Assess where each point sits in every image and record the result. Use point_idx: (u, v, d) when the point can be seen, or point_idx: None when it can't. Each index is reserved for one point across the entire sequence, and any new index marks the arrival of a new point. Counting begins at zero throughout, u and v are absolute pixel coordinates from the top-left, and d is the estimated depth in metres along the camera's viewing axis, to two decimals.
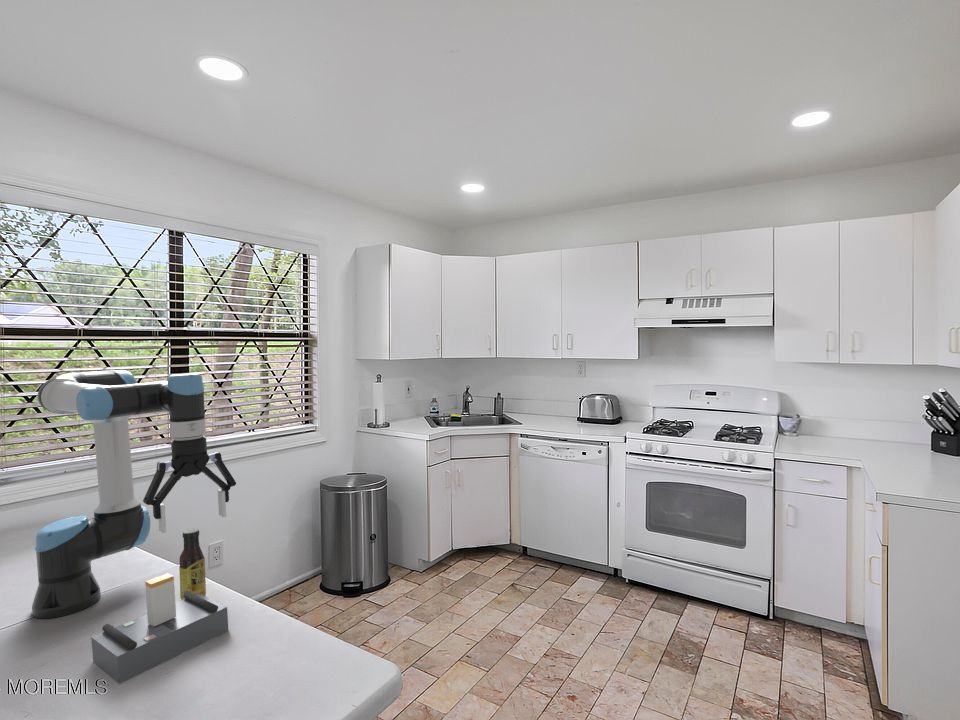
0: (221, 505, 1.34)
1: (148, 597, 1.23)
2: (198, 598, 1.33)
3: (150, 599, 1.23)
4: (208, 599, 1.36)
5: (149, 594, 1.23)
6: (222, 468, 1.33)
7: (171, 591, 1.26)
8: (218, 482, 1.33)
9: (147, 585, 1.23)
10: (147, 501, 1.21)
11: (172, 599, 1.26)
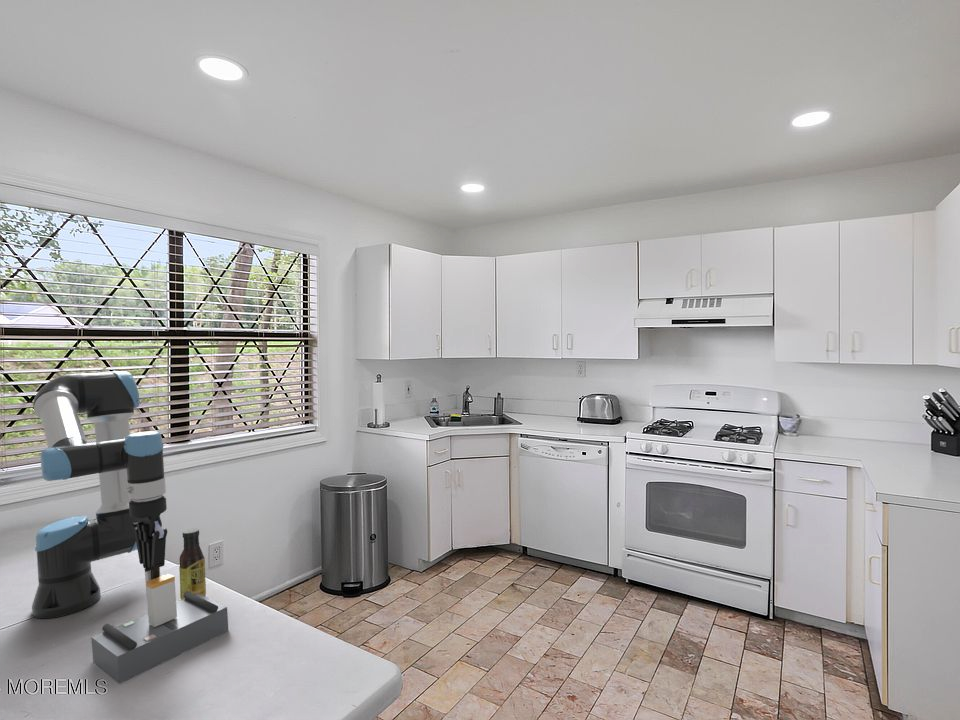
0: None
1: (149, 597, 1.23)
2: (198, 598, 1.33)
3: (150, 599, 1.23)
4: (208, 599, 1.36)
5: (150, 595, 1.23)
6: (152, 546, 1.23)
7: (172, 592, 1.26)
8: (147, 556, 1.25)
9: (148, 585, 1.23)
10: (139, 561, 1.28)
11: (173, 599, 1.26)
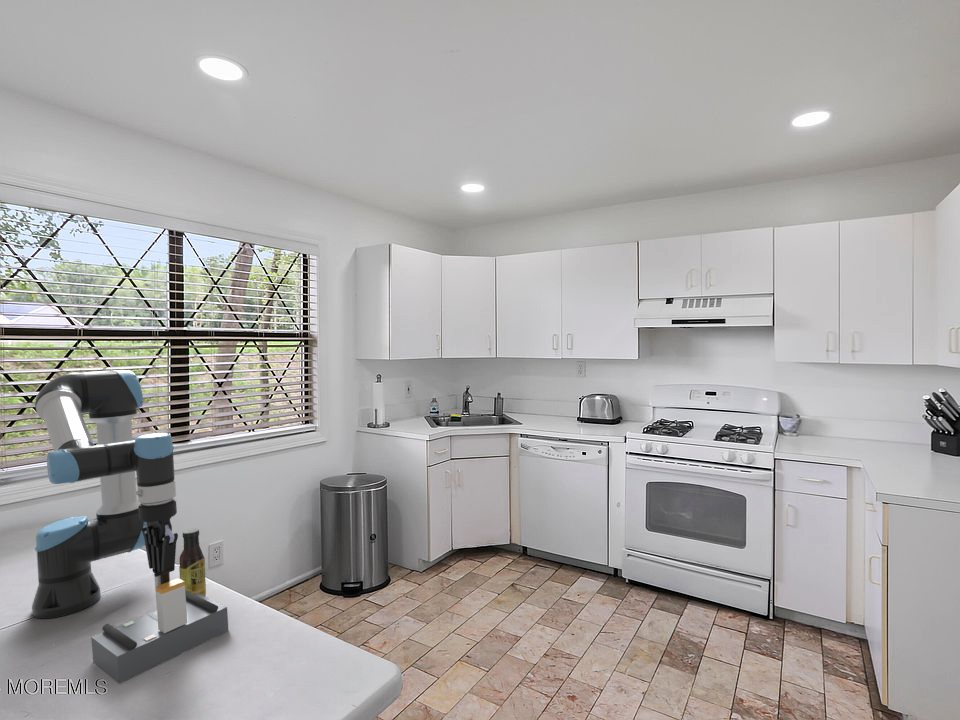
0: None
1: (159, 603, 1.20)
2: (198, 598, 1.33)
3: (160, 605, 1.20)
4: (208, 599, 1.36)
5: (159, 600, 1.20)
6: (162, 551, 1.21)
7: (182, 597, 1.23)
8: (157, 561, 1.22)
9: (158, 591, 1.20)
10: (149, 565, 1.25)
11: (183, 605, 1.23)
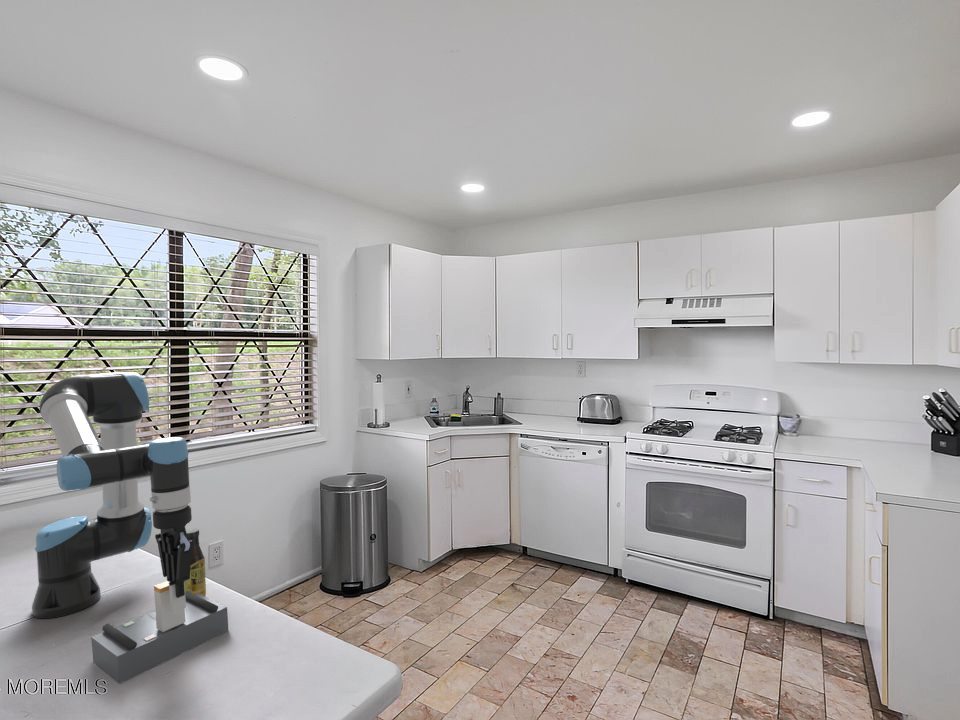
0: None
1: (157, 602, 1.21)
2: (198, 598, 1.33)
3: (158, 604, 1.20)
4: (208, 599, 1.36)
5: (158, 599, 1.21)
6: (178, 559, 1.17)
7: None
8: (172, 569, 1.19)
9: (156, 590, 1.21)
10: (163, 574, 1.21)
11: None
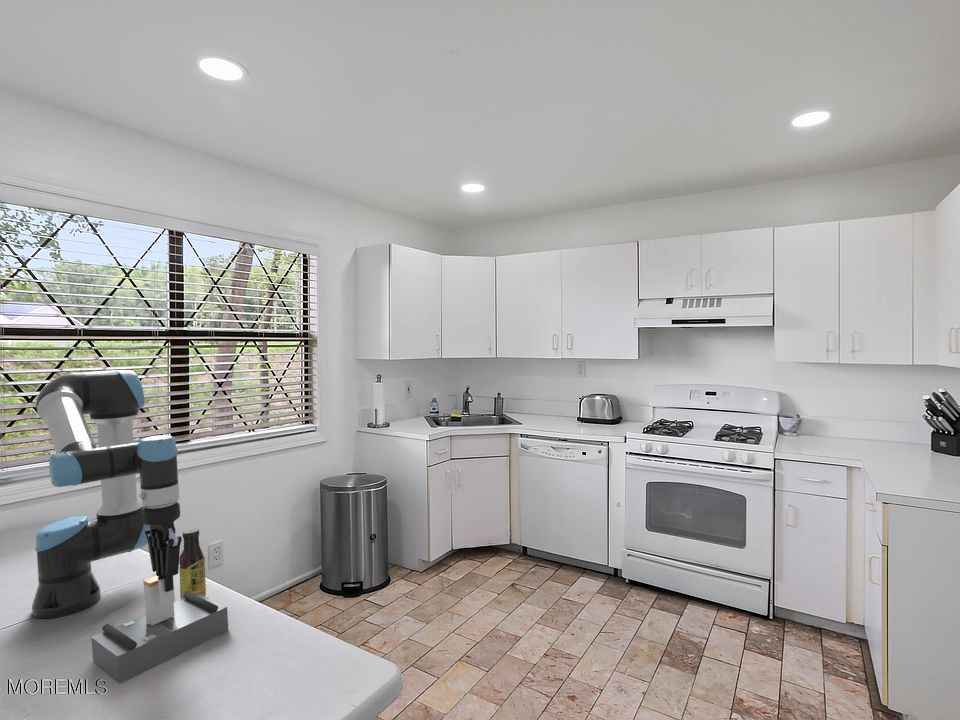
0: None
1: (146, 596, 1.24)
2: (198, 598, 1.33)
3: (148, 598, 1.24)
4: (208, 599, 1.36)
5: (147, 593, 1.24)
6: (166, 554, 1.20)
7: None
8: (161, 564, 1.22)
9: (145, 584, 1.24)
10: (152, 568, 1.24)
11: None
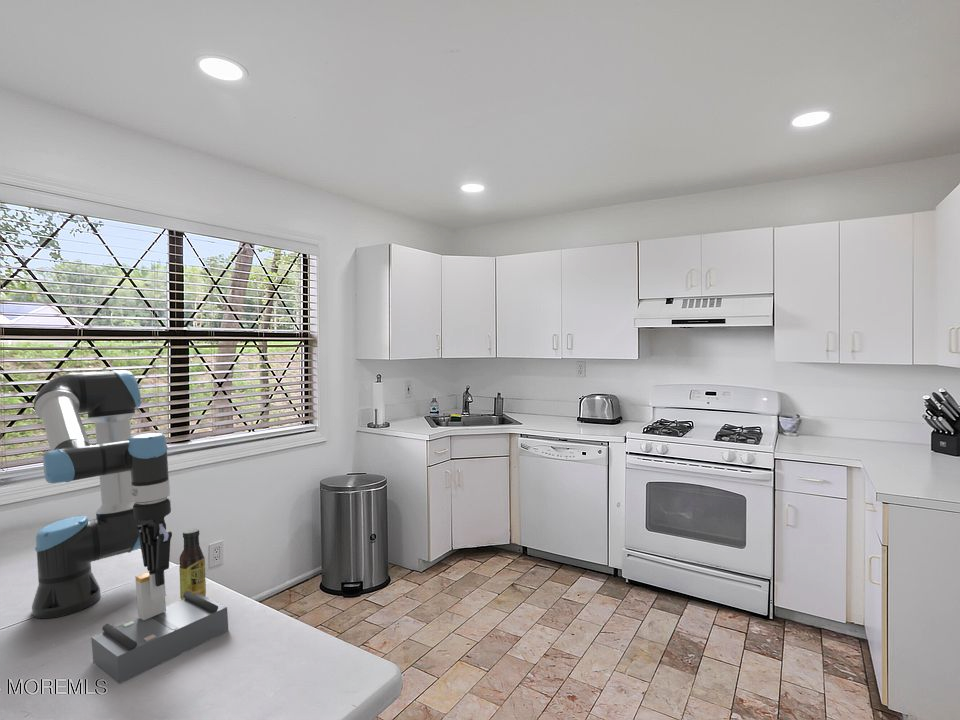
0: None
1: (138, 592, 1.26)
2: (198, 598, 1.33)
3: (140, 593, 1.26)
4: (208, 599, 1.36)
5: (139, 589, 1.26)
6: (157, 549, 1.22)
7: None
8: (152, 559, 1.24)
9: (137, 580, 1.26)
10: None
11: None
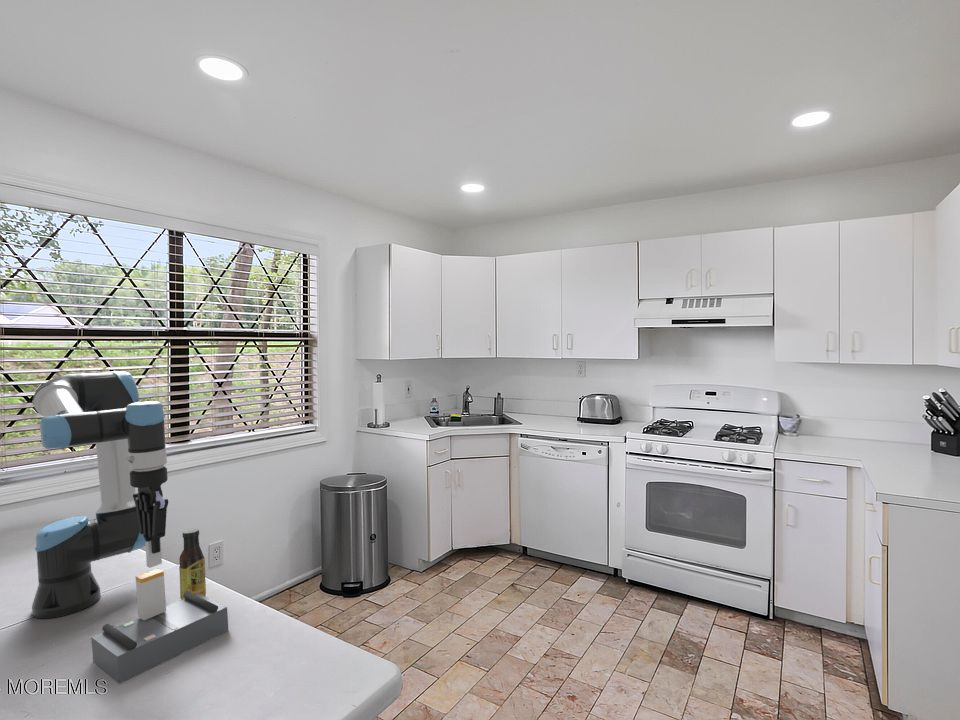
0: None
1: (138, 592, 1.26)
2: (198, 598, 1.33)
3: (140, 593, 1.26)
4: (208, 599, 1.36)
5: (139, 589, 1.26)
6: (153, 516, 1.23)
7: (161, 586, 1.29)
8: (148, 526, 1.24)
9: (137, 580, 1.26)
10: (140, 531, 1.27)
11: (163, 594, 1.29)
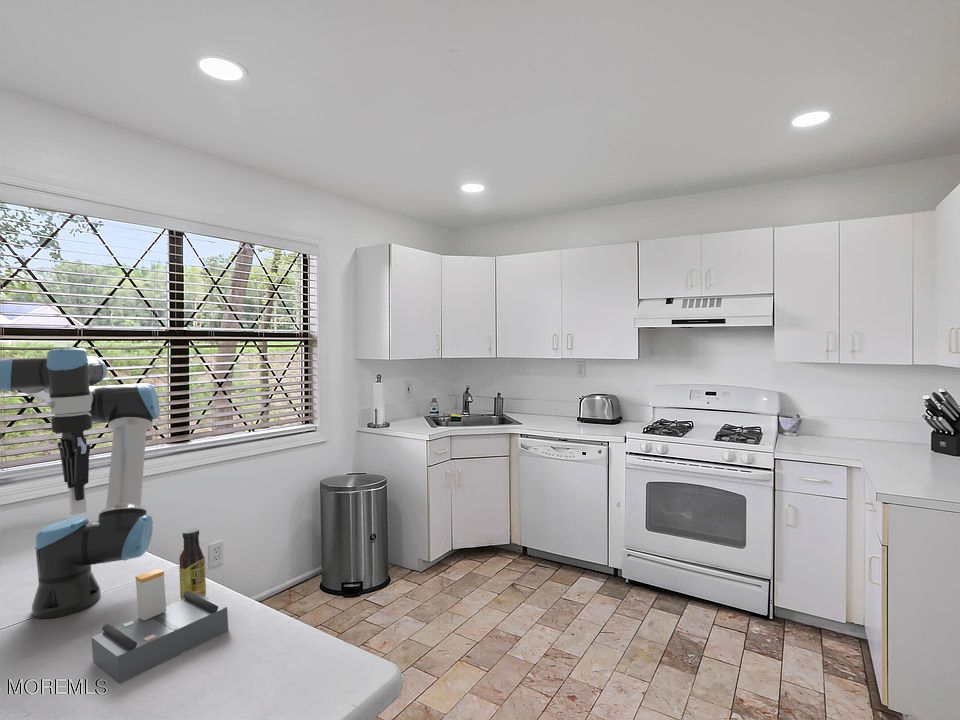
0: None
1: (138, 592, 1.26)
2: (198, 598, 1.33)
3: (140, 593, 1.26)
4: (208, 599, 1.36)
5: (139, 589, 1.26)
6: (75, 462, 1.22)
7: (161, 586, 1.29)
8: (71, 473, 1.24)
9: (137, 580, 1.26)
10: None
11: (163, 594, 1.29)
